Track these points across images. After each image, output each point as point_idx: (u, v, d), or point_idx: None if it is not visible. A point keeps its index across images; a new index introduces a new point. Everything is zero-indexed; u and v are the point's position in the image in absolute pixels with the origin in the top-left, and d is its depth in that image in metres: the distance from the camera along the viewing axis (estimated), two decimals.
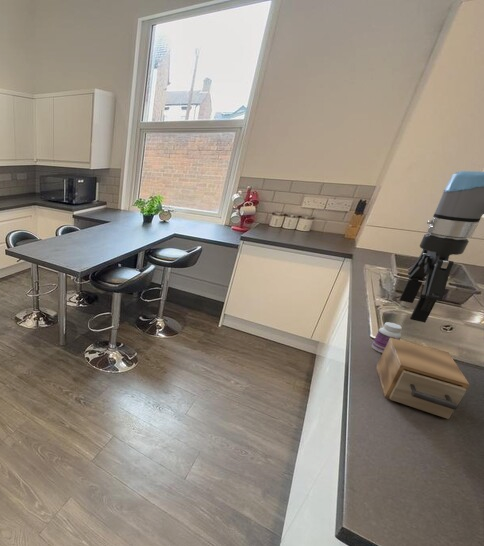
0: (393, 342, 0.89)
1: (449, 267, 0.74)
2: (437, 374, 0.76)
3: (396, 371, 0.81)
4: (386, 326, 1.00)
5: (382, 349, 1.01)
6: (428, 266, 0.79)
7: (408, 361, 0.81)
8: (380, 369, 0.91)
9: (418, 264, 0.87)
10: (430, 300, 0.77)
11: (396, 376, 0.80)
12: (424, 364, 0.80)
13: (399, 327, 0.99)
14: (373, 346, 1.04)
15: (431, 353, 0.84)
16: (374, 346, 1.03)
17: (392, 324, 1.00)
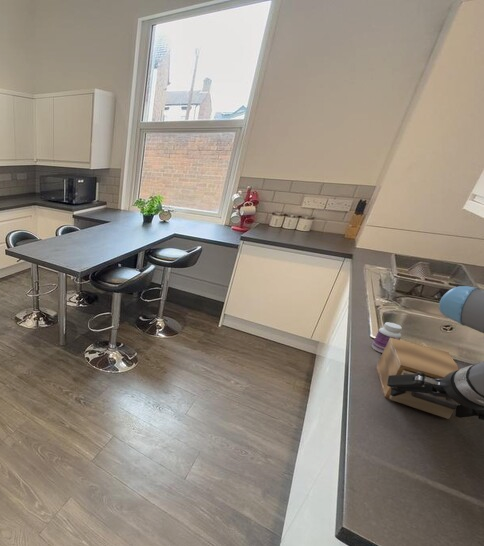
0: (393, 342, 0.89)
1: None
2: (437, 374, 0.76)
3: (396, 371, 0.81)
4: (386, 326, 1.00)
5: (382, 349, 1.01)
6: None
7: (408, 361, 0.81)
8: (380, 369, 0.91)
9: None
10: None
11: None
12: (424, 364, 0.80)
13: (399, 327, 0.99)
14: (373, 346, 1.04)
15: (431, 353, 0.84)
16: (374, 346, 1.03)
17: (392, 324, 1.00)
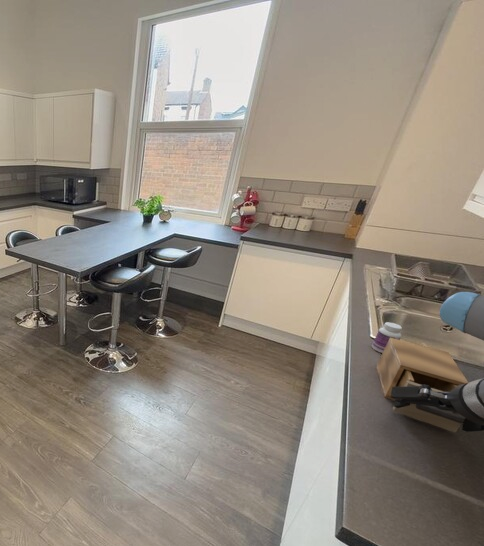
0: (393, 342, 0.89)
1: None
2: (437, 374, 0.76)
3: (396, 371, 0.81)
4: (386, 326, 1.00)
5: (382, 349, 1.01)
6: None
7: (408, 361, 0.81)
8: (380, 369, 0.91)
9: None
10: None
11: (396, 376, 0.80)
12: (424, 364, 0.80)
13: (399, 327, 0.99)
14: (373, 346, 1.04)
15: (431, 353, 0.84)
16: (374, 346, 1.03)
17: (392, 324, 1.00)
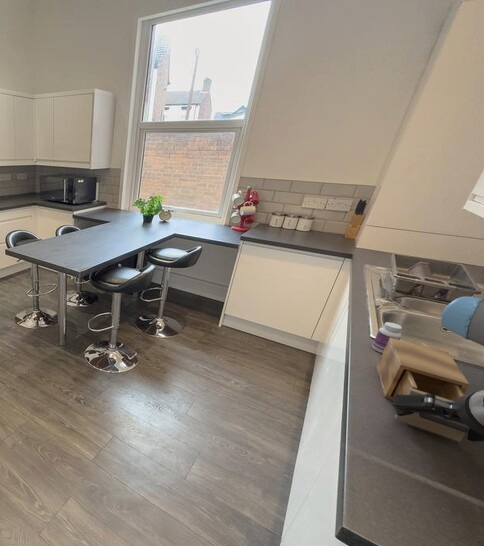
0: (393, 342, 0.89)
1: None
2: (437, 374, 0.76)
3: (396, 371, 0.81)
4: (386, 326, 1.00)
5: (382, 349, 1.01)
6: None
7: (408, 361, 0.81)
8: (380, 369, 0.91)
9: None
10: None
11: (396, 376, 0.80)
12: (424, 364, 0.80)
13: (399, 327, 0.99)
14: (373, 346, 1.04)
15: (431, 353, 0.84)
16: (374, 346, 1.03)
17: (392, 324, 1.00)
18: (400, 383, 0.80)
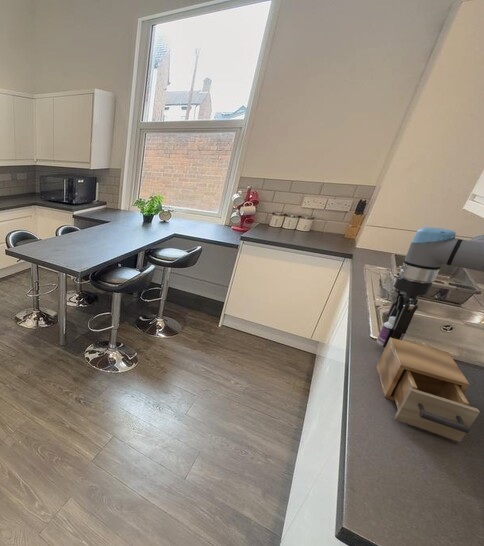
0: (393, 342, 0.89)
1: (414, 310, 0.91)
2: (437, 374, 0.76)
3: (396, 371, 0.81)
4: (391, 320, 0.99)
5: None
6: (399, 304, 0.96)
7: (408, 361, 0.81)
8: (380, 369, 0.91)
9: (394, 305, 1.02)
10: (397, 333, 0.96)
11: (396, 376, 0.80)
12: (424, 364, 0.80)
13: None
14: (378, 341, 1.02)
15: (431, 353, 0.84)
16: (379, 341, 1.02)
17: None
18: (400, 383, 0.80)
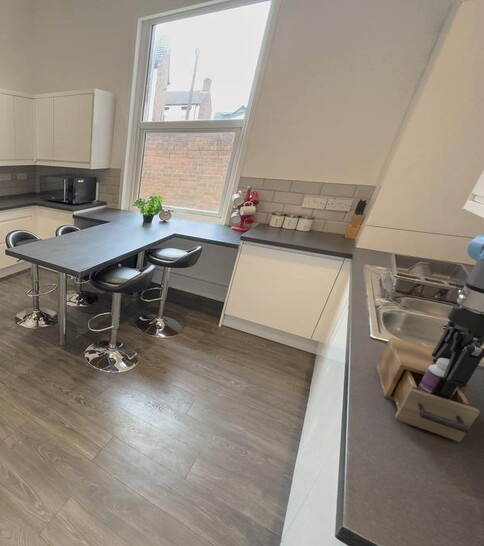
0: (393, 342, 0.89)
1: (481, 356, 0.63)
2: None
3: (396, 371, 0.81)
4: (440, 364, 0.71)
5: None
6: (456, 345, 0.68)
7: (408, 361, 0.81)
8: (380, 369, 0.91)
9: (444, 342, 0.74)
10: (451, 384, 0.68)
11: (396, 376, 0.80)
12: (424, 364, 0.80)
13: None
14: (420, 390, 0.75)
15: (431, 353, 0.84)
16: (422, 390, 0.74)
17: None
18: (400, 383, 0.80)
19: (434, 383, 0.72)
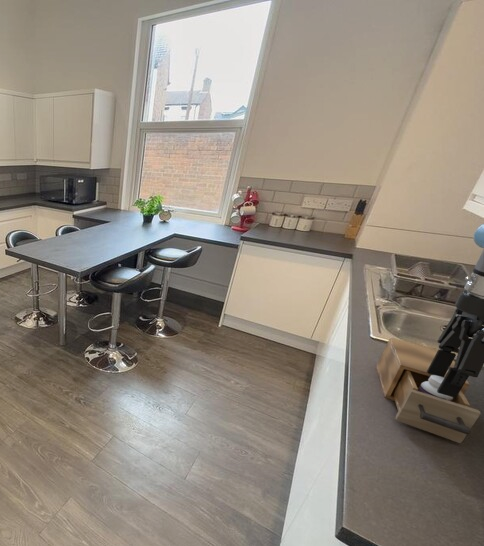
0: (393, 342, 0.89)
1: None
2: None
3: (396, 371, 0.81)
4: (433, 381, 0.73)
5: None
6: (465, 332, 0.66)
7: (408, 361, 0.81)
8: (380, 369, 0.91)
9: (450, 329, 0.73)
10: (462, 374, 0.66)
11: (396, 376, 0.80)
12: (424, 364, 0.80)
13: None
14: None
15: (431, 353, 0.84)
16: None
17: (441, 379, 0.73)
18: (400, 384, 0.80)
19: None
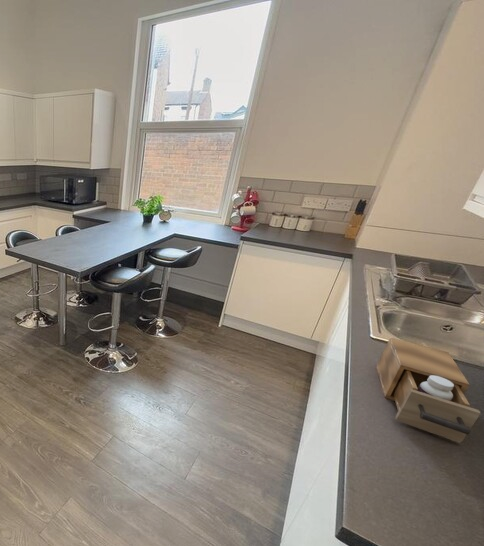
0: (393, 342, 0.89)
1: None
2: (437, 374, 0.76)
3: (396, 371, 0.81)
4: (431, 382, 0.73)
5: None
6: None
7: (408, 361, 0.81)
8: (380, 369, 0.91)
9: None
10: None
11: (396, 376, 0.80)
12: (424, 364, 0.80)
13: (450, 384, 0.71)
14: None
15: (431, 353, 0.84)
16: None
17: (439, 379, 0.73)
18: (400, 384, 0.80)
19: None
